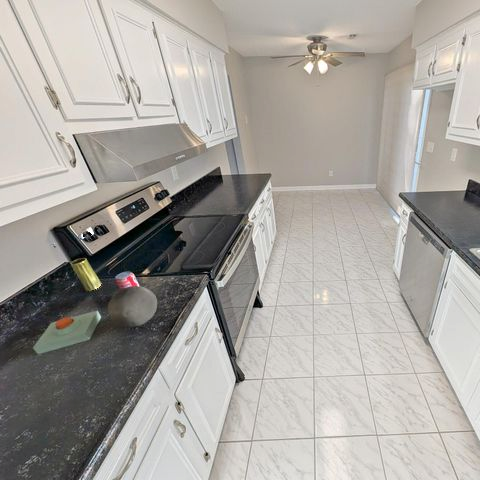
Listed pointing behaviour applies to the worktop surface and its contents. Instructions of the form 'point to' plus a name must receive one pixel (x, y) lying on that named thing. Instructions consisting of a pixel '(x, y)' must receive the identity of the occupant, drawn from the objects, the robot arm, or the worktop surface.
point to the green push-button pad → (68, 333)
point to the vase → (86, 274)
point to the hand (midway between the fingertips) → (67, 241)
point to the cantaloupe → (132, 306)
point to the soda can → (126, 280)
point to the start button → (63, 322)
